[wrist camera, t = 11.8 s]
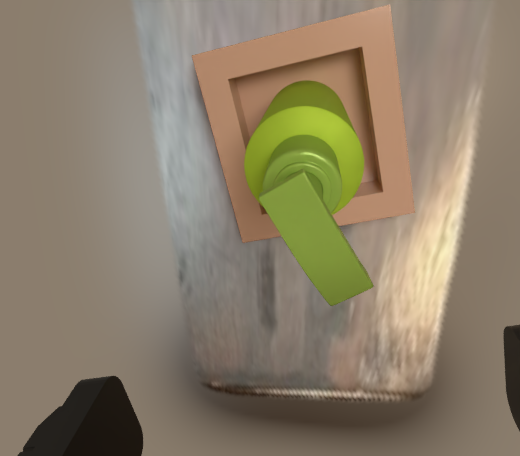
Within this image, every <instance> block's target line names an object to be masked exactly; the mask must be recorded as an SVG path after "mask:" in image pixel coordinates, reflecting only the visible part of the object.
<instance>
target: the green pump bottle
mask: <svg viewBox="0 0 520 456" xmlns="http://www.w3.org/2000/svg"><path fill="white" fill-rule="evenodd" d="M244 170H245V176H246V180H247V183H248V186H249V188H250V190H251V192H252V194H253V195H254V197H255V198H256V200H257V201H258V202H259V203H260V204H261V205H262V206H263V207H264V209H265V210H266V212H267V213H268V215H269V217H270V218H271V220H272V222H273V223H274V225H275V226H276V228H277V230H278V231H279V233H280V235H281V236H282V238H283V239H284V241H285V243H286V244H287V246H288V247H289V249H290V250H291V252H292V254H293V255H294V257H295V258H296V260H297V261H298V263H299V264H300V266H301V267H302V269H303V270H304V272H305V273H306V274H307V276H308V277H309V279H310V280H311V281H312V283H313V284H314V285H315V287H316V288H317V289H318V291H319V292H320V293H321V295H322V296H323V297H324V299H325V300H326V301H327V302H328V303H329V305H330V306H333V305H336V304H338V303H340V302H342V301H345V300H347V299H349V298H351V297H353V296H356V295H358V294H360V293H362V292H364V291H366V290H368V289H370V288H372V287H373V284H372V282H371V279H370V277H369V275H368V273H367V271H366V270H365V268H364V267H363V265H362V264H361V262H360V261H359V259H358V257H357V256H356V254H355V253H354V251H353V249H352V248H351V246H350V244H349V243H348V241H347V239H346V238H345V236H344V234H343V233H342V231H341V229H340V228H339V226H338V224H337V223H336V221H335V219H334V218H333V216H332V215H333V214H335V213H337V212H338V211H340V210H341V209H342V208H343V207H345V206H346V205H347V204H348V203H349V202H350V200H351V199H352V198H353V197H354V195H355V194H356V192H357V190H358V188H359V186H360V183H361V180H362V177H363V172H364V155H363V150H362V146H361V143H360V141H359V139H358V136H357V134H356V132H355V130H354V128H353V125H352V123H351V121H350V119H349V117H348V114H347V112H346V110H345V108H344V106H343V103H342V101H341V100H340V98H339V96H338V95H337V94H336V93H335V92H334V91H333V90H332V89H331V88H330V87H328V86H326V85H325V84H322V83H320V82H317V81H310V80H304V81H298V82H294V83H292V84H290V85H288V86H286V87H285V88H283V89H282V90H281V91H280V92H279V93H278V94H277V95H276V96H275V97H274V99H273V101H272V102H271V104H270V106H269V107H268V109H267V111H266V113H265V114H264V116H263V118H262V119H261V121H260V123H259V125H258V126H257V128H256V130H255V131H254V133H253V135H252V137H251V138H250V141H249V143H248V146H247V149H246V153H245V159H244Z"/></svg>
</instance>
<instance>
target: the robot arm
mask: <svg viewBox="0 0 520 456" xmlns="http://www.w3.org/2000/svg"><path fill="white" fill-rule="evenodd" d="M504 356H505V376H506V392H507V398H508V402H509V406H510V410H511V413H512V416H513V418H514V421H515V423H516V425H517V427H518V429H519V431H520V325H515V326H507V327H506V328H505V329H504ZM142 449H143V434H142V429H141V426H140V423H139V421H138V419H137V416H136V414H135V412H134V409H133V407H132V405H131V403H130V400H129V398H128V396H127V393H126V391H125V389H124V387H123V384H122V382H121V380H120V379H119V378H118V377H116V376H108V377H101V378H93V379H85V380H81V381H80V382H78V384H77V385H76V386H75V387H74V389H73V390H72V392H71V393H70V395H69V397H68V398H67V399H66V401H65V403H64V404H63V406H61V407H58V408H57V409H56V410H55V411H54V412H53V413H52V414H51V415H50V416H49V417H47V418H46V419H45V420H44V421H43V422H42V423H41V424H40V425H39V426H38V427H37V428H36V430H35V431H34V433H33V434H32V436H31V437H30V439H29V440H28V441H27V443H26V444H25V446H24V447H23V452H20V453H19V454H18V456H141V454H142Z"/></svg>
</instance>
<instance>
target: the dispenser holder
mask: <svg viewBox="0 0 520 456" xmlns="http://www.w3.org/2000/svg"><path fill="white" fill-rule="evenodd" d="M192 58H193V62H194V66H195V69H196V73H197V77H198V80H199V84H200V88H201V91H202V95H203V99H204V102H205V106H206V110H207V113H208V117H209V121H210V124H211V128H212V132H213V135H214V139H215V143H216V147H217V150H218V154H219V158H220V161H221V165H222V169H223V172H224V176H225V180H226V183H227V187H228V191H229V194H230V198H231V202H232V205H233V209H234V213H235V216H236V220H237V224H238V227H239V231H240V235H241V238H242V242H243V243H245V242H251V241H257V240H262V239H268V238H274V237H280V236H281V235H280V233H279V231H278V230H277V228H276V226H275V225H274V223H273V222H272V220H271V218H270V217H269V215H268V213H267V212H266V210H265V209H264V207H263V206H262V205H261V204H260V203H259V202H258V201H257V200H256V198H255V197H254V195H253V194H252V192H251V190H250V188H249V186H248V183H247V180H246V176H245V170H244V159H245V153H246V149H247V146H248V143H249V141H250V138H251V137H252V135H253V133H254V131H255V130H256V128H257V126H258V125H259V123H260V121H261V119H262V118H263V116H264V114H265V113H266V111H267V109H268V107H269V106H270V104H271V102H272V101H273V99H274V97H275V96H276V95H277V94H278V93H279V92H280V91H281V90H282V89H283V88H285V87H286V86H288V85H290V84H292V83H294V82H298V81H304V80H310V81H317V82H320V83H322V84H325V85H326V86H328V87H330V88H331V89H332V90H333V91H334V92H335V93H336V94H337V95H338V96H339V98H340V100H341V101H342V103H343V106H344V108H345V110H346V112H347V114H348V117H349V119H350V121H351V123H352V125H353V128H354V130H355V132H356V134H357V136H358V139H359V141H360V143H361V146H362V150H363V155H364V172H363V177H362V180H361V183H360V186H359V188H358V190H357V192H356V194H355V195H354V197H353V198H352V199H351V200H350V202H349V203H348V204H347V205H346V206H345V207H343V208H342V209H341V210H340V211H338V212H337V213H335V214H333V215H332V216H333V218H334V219H335V221H336V223H337V224H338V226H342V225H348V224H353V223H359V222H365V221H370V220H376V219H382V218H387V217H393V216H399V215H404V214H410V213H415V209H414V200H413V192H412V184H411V175H410V167H409V159H408V150H407V142H406V134H405V125H404V117H403V108H402V100H401V92H400V83H399V75H398V67H397V58H396V50H395V42H394V33H393V25H392V17H391V8H390V5H386V6H382V7H378V8H375V9H371V10H367V11H363V12H359V13H355V14H351V15H347V16H344V17H340V18H336V19H332V20H328V21H324V22H320V23H316V24H313V25H309V26H305V27H301V28H297V29H293V30H289V31H285V32H281V33H278V34H274V35H270V36H266V37H262V38H258V39H254V40H250V41H247V42H243V43H239V44H235V45H231V46H227V47H223V48H219V49H216V50H212V51H208V52H204V53H200V54H196V55H192Z"/></svg>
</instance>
